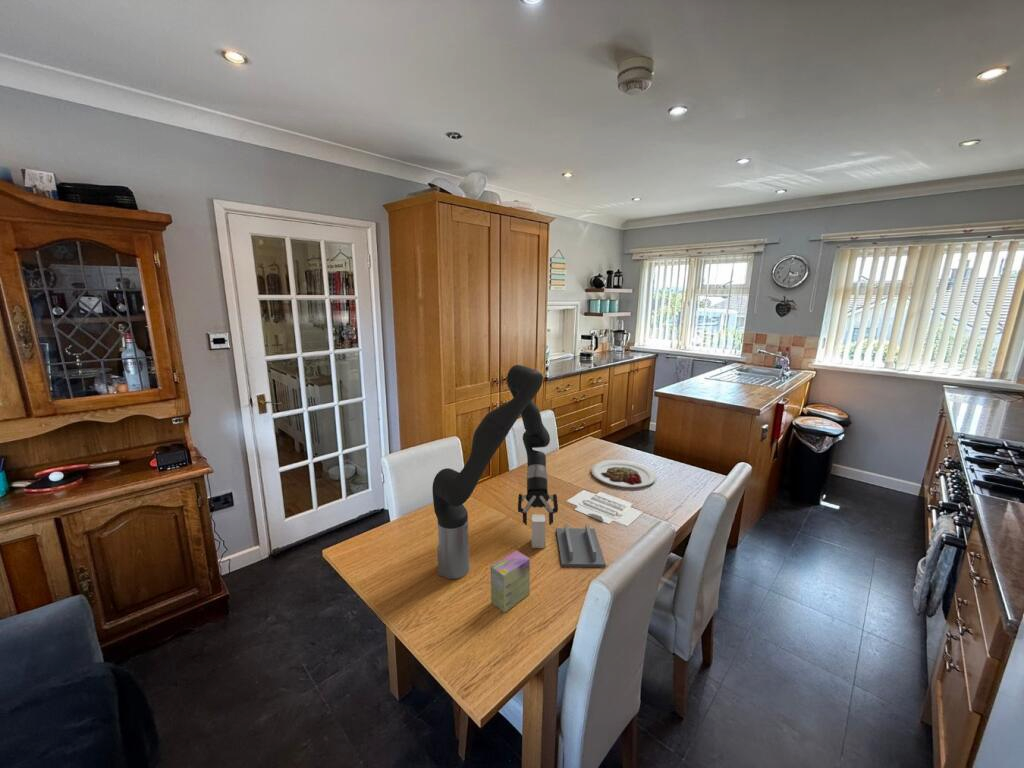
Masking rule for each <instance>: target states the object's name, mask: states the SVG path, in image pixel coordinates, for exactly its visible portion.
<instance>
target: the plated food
mask: <svg viewBox="0 0 1024 768" xmlns="http://www.w3.org/2000/svg"><path fill="white" fill-rule="evenodd" d="M590 470H591V474H592V475H593V477H594V478H595V479H597V480H599V481H600V482H603V483H605V484H608V485H610V486H614V487H621V488H633V489H635V488H643V487H646V486H649V485H652V484H653V483H654V482H656V480H657V474H656V472H655V471H654V470H653V469H652V468H651V467H650V466H647V465H645V464H642V463H639V462H636V461H632V460H626V459H606V460H602V461H599V462H596V463H595V464H593V465H592V467H591V469H590Z"/></svg>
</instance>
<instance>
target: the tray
mask: <svg viewBox="0 0 1024 768" xmlns="http://www.w3.org/2000/svg"><path fill="white" fill-rule="evenodd" d="M566 503H568V504H571V505H574V506H576V508H573V510H575V511H577V512H579V513H581V514H584V515H587V516H588V517H591V518H594V519H596V520H598V521H600V522H603V523H605V524H607V525H610V524H611V523H612V522H615V523H617V524H620V525H622V526H624V527H629V526H630V525H631V524H632V523H633V522H635V520H636V519H637V518H639V517H640V516H641V515H642V514H643V513H644V511H642V510H639V509H636V508H633V507H631V506H633V505H634V503H632V502H630V501H628V500H624V499H622V498H619V497H616V496H613V495H610V494H607V493H604V492H602V491H599V492H598V493H593V492H591V491H588V490H584V489H583V490H582V491H580V492H577V494H574V496H572V497H571V498H569V499H568V500H566Z"/></svg>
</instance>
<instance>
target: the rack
mask: <svg viewBox="0 0 1024 768" xmlns="http://www.w3.org/2000/svg"><path fill="white" fill-rule="evenodd" d="M584 526H585V527H584V528H576V527H575V528H569V526H568V523H564V528H562V527H559V528H558V527H557V528H555V530H556V537H557V544H558V545H557V546H558V550H559V557H560V564H561V565H560V566H561V567H562V568H563V567H564V568H565V567H567V568H576V567H577V568H606V566H607V565H606V564H607V563H606V561H605V557H604V555H603V551H602V549H601V545H600V542H599V538H598V535H597V532H596V530H595V528H590V525H589V524H587V523H585V525H584Z"/></svg>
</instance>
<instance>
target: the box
mask: <svg viewBox="0 0 1024 768" xmlns="http://www.w3.org/2000/svg"><path fill="white" fill-rule="evenodd" d="M530 559H531V558H530V557H528V556H526V555H525V554H523V553H521V552H520V551H518V550H515V551H513V552H511V553H509V554H508V555H507V556H505V557H504V558H502V559H500V560H498V561H497V562H495V563H494V564H492V565H490V595H491V596H490V603H491V604H492V605H493V606H495V607H496V608H498V609H499V610H500V611H501V612H503V613H506V612H507V611H509V610H510V609H512V608H513V607H515V605H517V604H518V603H519V602H521V601H522V600H524V599H525V598H526V597H528V596H530V593H531V592H530V591H531V590H530V589H531V587H530V586H531V581H530V580H531V578H530V577H531V575H530V574H531V573H530V571H531V564H530V563H531V561H530Z"/></svg>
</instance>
